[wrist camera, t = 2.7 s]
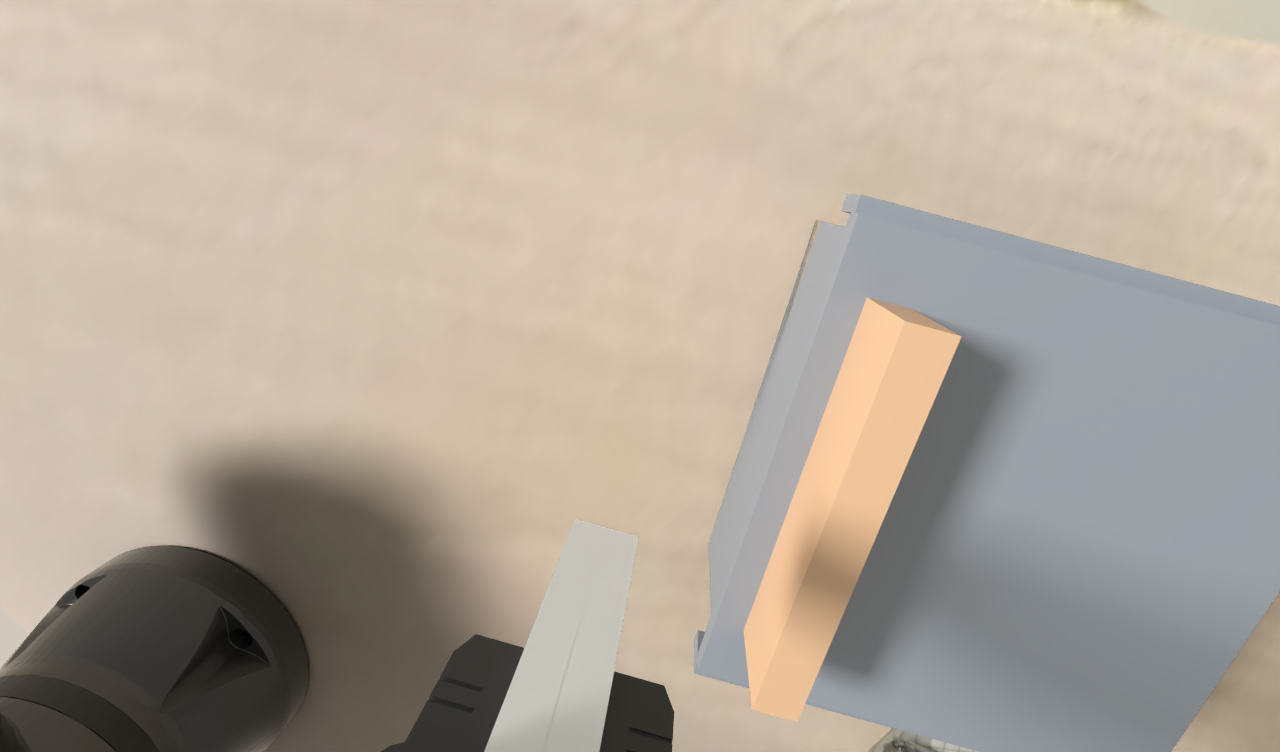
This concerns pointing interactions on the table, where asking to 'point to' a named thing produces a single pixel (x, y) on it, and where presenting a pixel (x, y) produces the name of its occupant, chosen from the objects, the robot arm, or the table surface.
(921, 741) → the packaged product
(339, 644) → the table surface
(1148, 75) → the table surface
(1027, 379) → the lid
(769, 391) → the open gray box
